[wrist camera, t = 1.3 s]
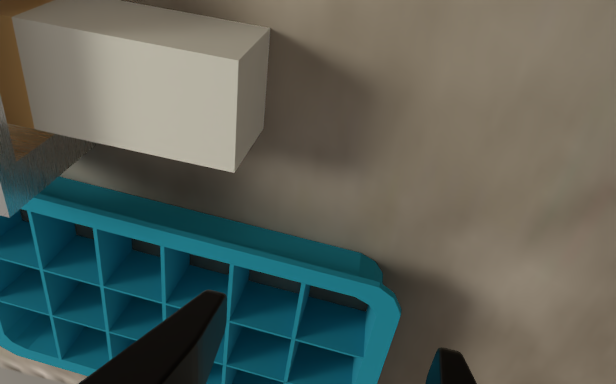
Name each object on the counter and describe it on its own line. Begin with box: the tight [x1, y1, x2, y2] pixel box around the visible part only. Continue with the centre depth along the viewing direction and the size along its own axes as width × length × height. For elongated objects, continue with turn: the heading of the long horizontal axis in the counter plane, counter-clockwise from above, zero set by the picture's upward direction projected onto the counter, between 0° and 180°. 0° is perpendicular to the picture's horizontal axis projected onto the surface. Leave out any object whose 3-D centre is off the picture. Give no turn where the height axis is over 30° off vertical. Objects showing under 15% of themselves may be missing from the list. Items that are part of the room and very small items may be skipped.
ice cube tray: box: [0, 177, 401, 384], centre depth 26 cm, size 12×20×3 cm, turn 82°
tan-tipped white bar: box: [0, 0, 271, 173], centre depth 19 cm, size 10×4×4 cm, turn 83°
